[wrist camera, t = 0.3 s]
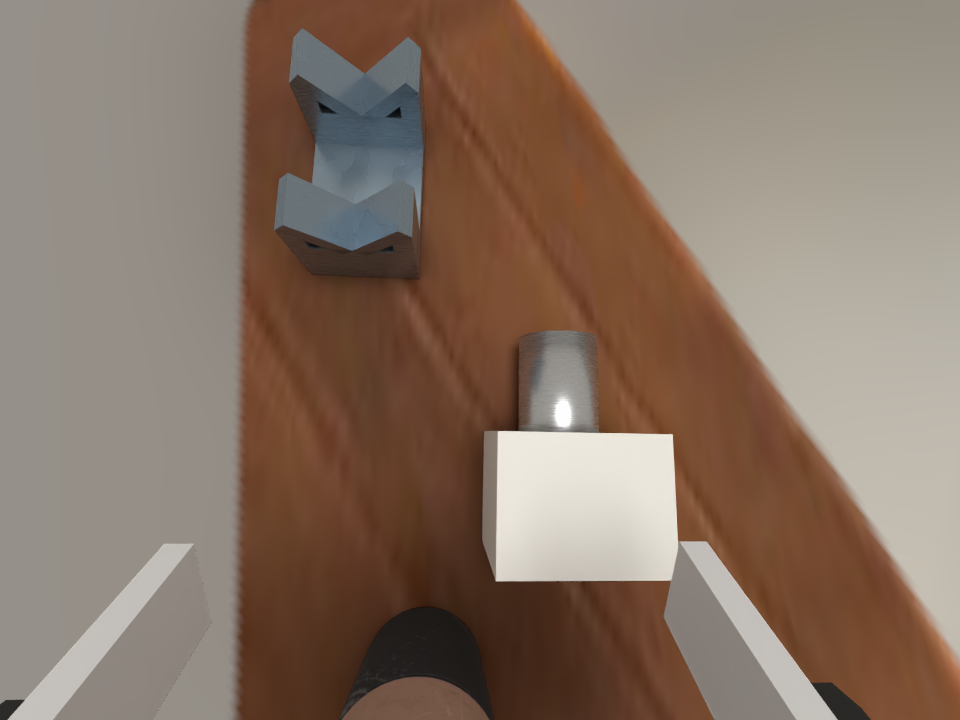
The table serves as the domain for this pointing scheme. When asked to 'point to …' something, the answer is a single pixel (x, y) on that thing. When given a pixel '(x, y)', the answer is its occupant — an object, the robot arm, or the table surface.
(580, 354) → the axle
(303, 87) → the v block
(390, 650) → the travel mug
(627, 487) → the u shaped block
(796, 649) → the table surface
